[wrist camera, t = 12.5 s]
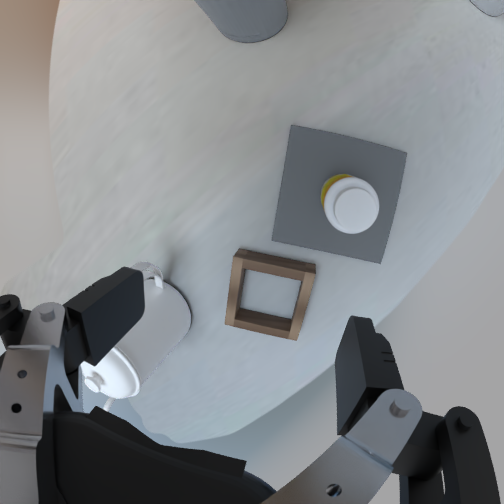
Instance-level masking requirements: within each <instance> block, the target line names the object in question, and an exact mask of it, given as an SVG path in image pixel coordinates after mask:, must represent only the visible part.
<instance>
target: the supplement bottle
mask: <svg viewBox="0 0 504 504" xmlns="http://www.w3.org/2000/svg"><path fill="white" fill-rule="evenodd" d="M321 203H322V206H323V209H324V211H325V214H326V217H327V219H328V220H329V222H330V223H331V224H332V226H334V227H335V228H336V229H337V230H339V231H341V232H344V233H348V234H356V233H360V232H363V231H365V230H366V229H368V228H369V227H370V226H371V225H372V224H373V223H374V222H375V220H376V218H377V216H378V212H379V199H378V196H377V194H376V192H375V190H374V189H373V187H372V186H371V185H370V184H369V183H367V182H366V181H364V180H362V179H360V178H357V177H354V176H351V175H348V174H337V175H334V176H332V177H330V178H329V179H328V180H327V181H326V182H325V183H324V185H323V187H322V189H321Z"/></svg>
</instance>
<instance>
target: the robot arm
mask: <svg viewBox="0 0 504 504" xmlns="http://www.w3.org/2000/svg"><path fill="white" fill-rule="evenodd" d="M194 1H195V2H196V3H197V4H198V5H199V6H200V7H201V9H202V10H203V11H204V12H205V13H206V14H207V16H208V17H209V18H210V19H211V21H212V22H213V23H214V24H215V25H216V27H217V28H218V29H219V30H220V32H221V33H222V34H223V35H225V36H226V37H228V38H229V39H231V40H234V41H238V42H245V43H247V42H257V41H262V40H265V39H267V38H270V37H271V36H273V35H275V34H276V33H277V32H279V31H280V30H281V29H282V28H283V26H284V25H285V23H286V21H287V16H288V11H287V5H286V0H194ZM144 310H145V296H144V278H143V273H142V272H141V271H140V270H136V269H132V268H128V267H122V268H121V269H119V270H118V271H116V272H115V273H113V274H112V275H110V276H108V277H105V278H102V279H100V280H98V281H97V282H95V283H94V284H92V286H89V287H88V288H86V289H85V291H84V290H83V291H82V292H80V293H79V294H78V295H76V296H75V297H73V298H72V299H70V300H69V301H68V302H66V303H65V304H63V305H61V304H59V303H55V302H48V303H43V304H40V305H38V306H37V307H35V308H34V309H33V310H32V311H30V310H25V309H22V307H21V303H20V300H19V298H18V297H17V296H16V295H12V294H8V295H3V296H0V336H1V338H2V341H3V344H4V346H5V348H6V352H4V353H3V354H2V355H1V356H0V504H368V503H369V502H370V501H371V499H372V498H373V497H374V496H375V494H376V493H377V492H378V490H379V489H380V488H381V486H382V485H383V484H384V482H385V481H386V480H387V478H388V477H389V475H390V474H391V473H395V474H399V480H400V504H501V503H500V497H499V491H498V486H497V481H496V477H495V472H494V468H493V464H492V460H491V457H490V452H489V449H488V446H487V442H486V439H485V436H484V433H483V430H482V427H481V424H480V421H479V419H478V417H477V416H476V415H475V414H474V413H473V412H472V411H471V410H469V409H467V408H465V407H460V406H458V407H453V408H451V409H450V410H449V411H448V412H447V414H446V415H445V416H444V417H442V416H438V415H434V414H430V413H427V412H424V411H422V406H421V404H420V402H419V400H418V399H417V398H416V397H415V396H414V395H413V394H411V393H409V392H407V391H405V390H404V387H403V384H402V381H401V377H400V374H399V371H398V367H397V364H396V363H395V358H394V355H393V352H392V349H391V346H390V343H389V342H388V341H387V340H386V338H385V337H384V336H383V335H382V334H379V333H376V332H375V329H374V326H373V323H372V320H371V319H370V318H364V317H357V316H350V318H349V320H348V323H347V325H346V328H345V331H344V334H343V337H342V339H341V342H340V345H339V347H338V350H337V354H336V359H335V373H336V394H337V395H336V396H337V435H342V436H341V437H340V438H339V439H338V440H336V441H335V442H334V443H333V444H332V445H331V446H330V447H329V448H328V449H327V450H326V451H325V452H324V453H323V454H322V455H321V456H320V457H319V458H317V459H316V460H315V461H314V462H313V463H312V464H311V465H310V466H308V467H307V468H306V469H305V470H304V471H303V472H301V473H300V474H299V475H298V476H297V477H296V478H294V479H293V480H292V481H290V482H289V483H288V484H286V485H285V486H284V487H283V488H281V489H280V490H279V491H276V490H274V489H273V488H272V487H271V486H270V485H269V484H267V483H266V482H264V481H263V480H262V479H260V478H258V477H256V476H255V475H253V474H251V473H248V472H246V471H244V469H245V465H246V461H244V460H240V459H235V458H232V457H227V456H224V455H220V454H216V453H212V452H209V451H205V450H195V449H187V448H178V447H171V446H164V445H160V444H158V443H156V442H155V441H153V440H152V439H150V438H149V437H147V436H146V435H145V434H143V433H142V432H141V431H139V430H138V429H137V428H135V427H134V426H133V425H131V424H130V423H129V422H127V421H126V420H124V419H121V418H119V417H117V416H115V415H113V414H111V413H109V412H107V411H105V410H103V409H101V408H99V407H98V406H95V407H94V409H93V410H92V411H91V412H90V414H89V413H84V411H83V399H82V368H81V365H80V364H81V363H82V362H83V361H85V362H87V363H89V364H91V365H93V366H96V365H97V364H98V363H99V362H100V361H101V360H102V359H103V358H104V357H105V356H106V355H107V354H108V353H109V351H110V350H111V349H112V348H113V347H114V346H115V345H116V344H117V343H118V342H119V341H120V340H121V339H122V338H123V337H124V336H125V335H126V334H127V333H128V332H129V331H130V330H131V328H132V327H133V326H134V325H135V324H136V323H137V322H138V321H139V320H140V319H141V318H142V316H143V314H144ZM442 470H443V474H444V482H445V494H444V489H443V481H442V474H441V471H442Z"/></svg>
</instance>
